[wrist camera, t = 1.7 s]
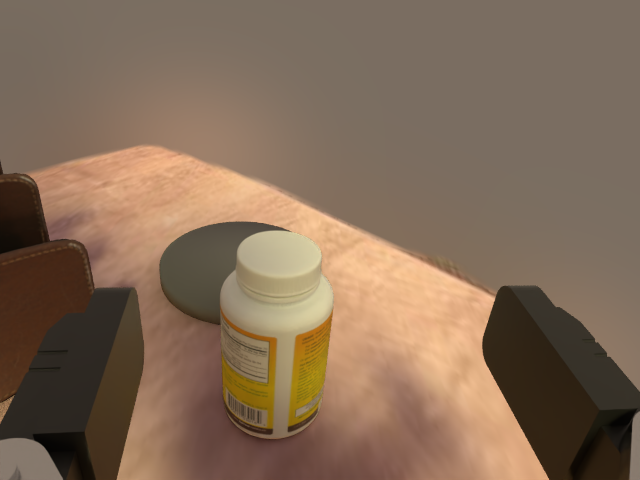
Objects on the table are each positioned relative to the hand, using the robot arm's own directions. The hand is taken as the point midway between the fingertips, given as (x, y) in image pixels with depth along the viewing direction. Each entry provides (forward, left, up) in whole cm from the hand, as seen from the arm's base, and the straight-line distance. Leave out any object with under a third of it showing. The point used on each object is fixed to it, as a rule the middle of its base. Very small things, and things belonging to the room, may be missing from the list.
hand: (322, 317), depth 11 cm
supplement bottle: (-2, +11, -16) cm, 19 cm away
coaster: (-6, +23, -16) cm, 28 cm away
